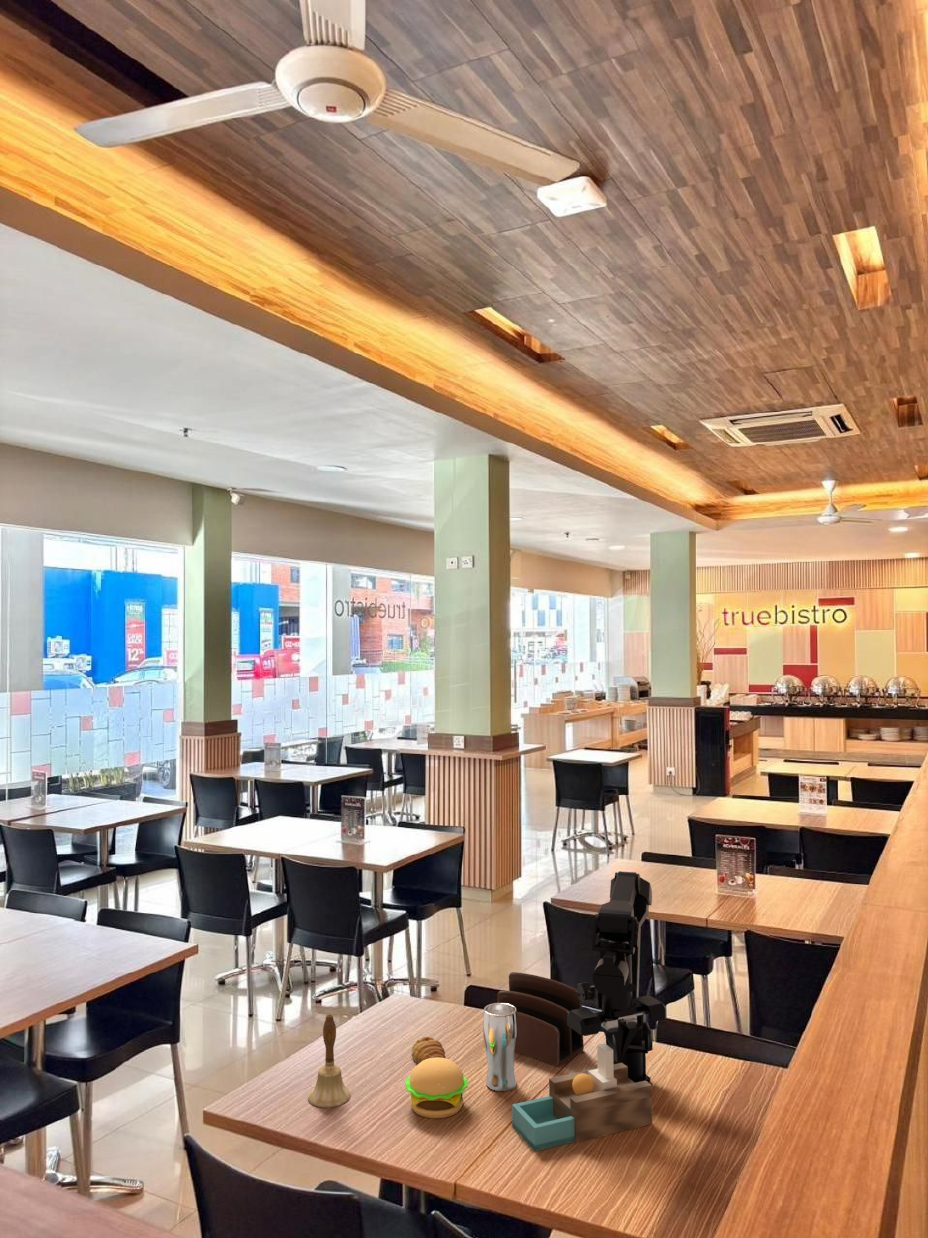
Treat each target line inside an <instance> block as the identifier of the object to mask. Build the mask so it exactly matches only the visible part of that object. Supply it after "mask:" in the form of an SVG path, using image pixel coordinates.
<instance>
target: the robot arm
mask: <svg viewBox="0 0 928 1238" xmlns="http://www.w3.org/2000/svg"><path fill="white" fill-rule="evenodd" d="M609 886H610V887H609V888H610V889H609V892H610V893H609V898H610V899H609V901H608V902H605V903H602V904H601V905H600V907H599V909H598V912H597V913H595V914H594V919H593V920H594V921H593V932H592V933H593V934H592V945H591V951H592V952H599V955H600V957H599V960H598V963H597V964H596V967H595V968H594V970H593V974H592V978H591V979H592V983H593V985H591V984H590V982H589V981H587V982H585V981H584V982H580V983H577V987H576V989H577V994H578V999H579V1000H580V1001H582V1002H584V1001H585V1002H586V1004H587V1005H591V1004H594V1007H595V1008H597V1009H600V1010H601V1011H598V1012H593V1011H592V1010H590V1009H589V1008H587V1007H582V1008H581V1009H575V1010H571V1011H570V1012H569V1013H568V1015H567V1025H568V1026H569V1027H570V1028H572V1029H573V1030H575V1031H576V1032H577V1033H579V1034H580V1035H581V1036H583V1037H587V1036H592V1035H597V1034H599V1032H600V1031H602V1032H603V1033H604V1036H605V1044H606V1045H608V1046H609V1047H610V1048H612V1049H613V1064H618V1063H623V1064H624V1065H626V1066H627V1067H628V1078H629V1079H630V1080H632V1081H633V1082H634V1083H637V1082H641V1081H647V1082H648V1083H649V1082H650V1081H651V1077H650V1076H648V1074H647V1066H646V1065H647V1058H646V1055H648V1054H649V1052H651V1051H653V1049H654V1048H653V1033H652V1029H651V1028H650V1026H649V1022H648V1021H646V1019H647V1018H646V1017H647V1016H646V1015H648V1018H650V1020H651V1021H653V1022H654V1023H655V1022H659V1021H660V1022H661V1021H664V1020H667V1008H666V1006H665V1004H664V1003H663V1002H662V1001H660V1000H659V999H656V998H655V997H653V996H651V995H644V996H640V995H639V992H640V991H639V990H640V961H641V960H640V959H641V958H640V957H641V933H642V932H641V929H642V928H641V927H642V926H643V924H644V923H645V920H646V919H647V917H648V916H649V909H650V907H649V906H652V904H653V890H652V884H651V882H649V881H647V880H646V879H644V878H643V877H641V874H640V873H637V872H636V871H615V873H614V878H612V879H611V880H610V885H609ZM599 940H600V941H599Z"/></svg>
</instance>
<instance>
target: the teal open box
mask: <svg viewBox="0 0 928 1238" xmlns="http://www.w3.org/2000/svg"><path fill="white" fill-rule="evenodd" d="M511 1128H513V1129H514V1131H515V1132H517V1134H518V1135H519V1136H520V1137H521V1138H522V1140H524V1141H525V1142H526V1144H527V1145H528V1146H529V1147H530V1148H531V1149H532V1150H533V1151H534V1152H539V1151H542V1150H547V1149H549V1148H554V1147H558V1146H563V1145H566V1144H571V1143H574V1142H575V1119H574V1118H573V1117H572V1116H570V1117H565V1118H561V1119H557V1118H556V1117H555V1116H554V1115H553V1098H552V1097H551V1096H549V1095H548V1096H544V1097H540V1098H534V1099H531V1100H527V1101H522V1102H518V1103H513V1104H511ZM575 1143H576V1142H575Z"/></svg>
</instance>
